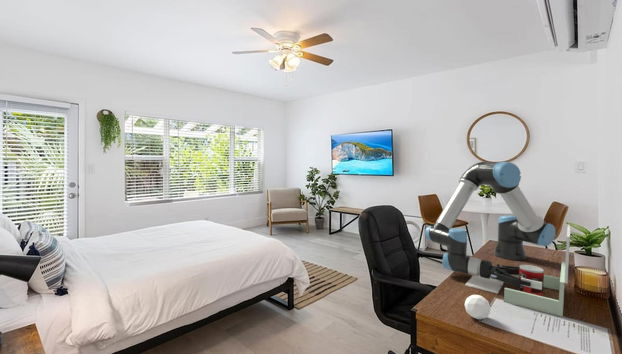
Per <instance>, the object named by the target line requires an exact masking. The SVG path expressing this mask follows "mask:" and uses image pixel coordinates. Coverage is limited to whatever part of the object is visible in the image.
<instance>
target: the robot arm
mask: <svg viewBox="0 0 622 354" xmlns="http://www.w3.org/2000/svg"><path fill="white" fill-rule="evenodd" d="M521 179H522V175H521V170H520V168H519V167H518V165H516V164H515V163H513V162H508V161H480V162H477V163H475V164H472V165H471V166H470V167H468V168H467V169H466V170H465V172H463V173H462V175H461V177H459V179H458V183H459V184H458V185H457V187H456V188H455V190H454V192H453V193H452V195H451V197H450V198H449V200H448V202H447V203H446V205H445V207H444V208H443V209H442V211H441V213H440V214H439V216H438V218H437V220H436V221H435V223H434V224H433V225H429V226H428V227H426V228H425V230H424V236H425V238H426V240H428V241H430V242H432V243H436V244H438V245H441V246H444V247H447V249H448V252H445V253H444V254H443V256H442V264H441V265H442V267H443V268H444V269H446V270H449V271H452V272H458V273H462V274H466V275H471V277H472V276H474V275H475V276H479V275H480V276H481V277H483V278H487V279H490V278H492V279H496V280H499V281H502V282H504V284H509V285H512V286H514V287H517V288H519V287H520V284H521V285H522V286H527V287H531V288H535V289H540V290H542V282H538V281H534V280H529V279H524V278H521V279H520V278H517V277H515V276H514V275H519V267H520V266H515V265H514V266H511V265H504V264H499V263H498V264H496V266H495V265H493V262H492V261H491V260H486V259H482V260H481V258H478V257H477V258H476V257H471V256H467V249H468V247H467V244H468V235H467V234H468V233H467V232H468V231H466V230H465V229H464V228H458V227H457V228H456V227H455V228H454V224H455V222H456V221H457V219H458V218H459V216H460V214H461V213H462V211H463V209H464V208H465V207H466V205H467V203H468V201H469V199H470V198H471V196H472V195H473V193H474V191H477V190H479V189H478V188H479V187H481V186H490V187H491V188H492V191H493V192H494V193H496V194H499V195H500V196H501V198H502V199H503V201H504V202H505V204H506V205H507V207H508V208H509V210H510V212H511V213H512V214H513V215H511V214H510V215H501V216H499V218H498V227H497V228H498V231H497V232H498V234H497V236H498V237H497V243H496V245H495V247H494V250H493V254H495V256H496V257H498V258H502V259H505V260H511V261H513V260H514V261H523V260H526V259H527V254H526V251H525V247H524V243H523V242H525V243H530V244H533V245H537V246H543V247H548V246H550V245H551V244H552V243H553V241H554V239H555V238H556V237H555V236H556V227H555V225H553V224H552V223H547V222H545V220H544V219H543V217H541V216H540V215H537V213H536V212H535V210H534V209H533V207H532V206H531V204H530V202H529V201H528V199H527V198H526V196H525V194H524V193H523V191H522V190H521V188H520V186H519V185H520V183H521ZM452 227H453V228H452Z"/></svg>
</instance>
